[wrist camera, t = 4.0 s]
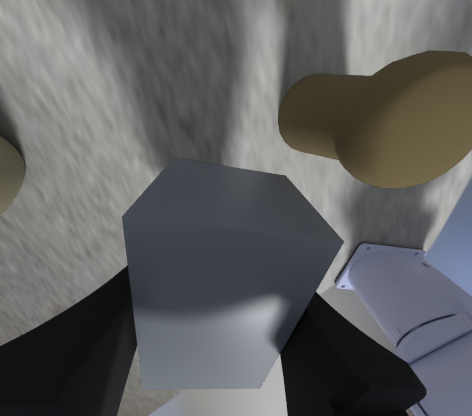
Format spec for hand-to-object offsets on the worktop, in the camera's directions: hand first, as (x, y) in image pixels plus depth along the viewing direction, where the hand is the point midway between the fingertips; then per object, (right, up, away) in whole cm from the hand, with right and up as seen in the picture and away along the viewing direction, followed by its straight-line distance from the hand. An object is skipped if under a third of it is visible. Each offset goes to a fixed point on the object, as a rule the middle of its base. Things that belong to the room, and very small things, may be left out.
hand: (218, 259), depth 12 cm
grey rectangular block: (0, +1, +2) cm, 2 cm away
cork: (+8, +11, +5) cm, 14 cm away
